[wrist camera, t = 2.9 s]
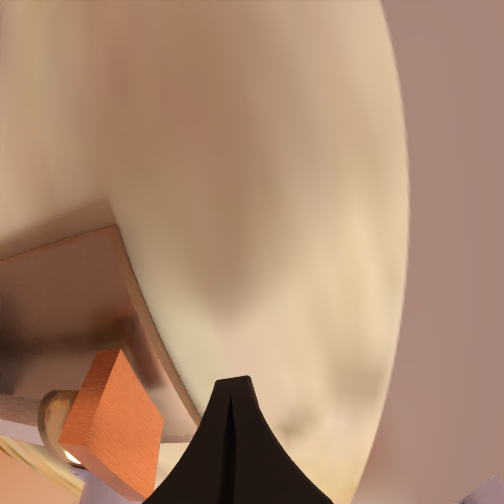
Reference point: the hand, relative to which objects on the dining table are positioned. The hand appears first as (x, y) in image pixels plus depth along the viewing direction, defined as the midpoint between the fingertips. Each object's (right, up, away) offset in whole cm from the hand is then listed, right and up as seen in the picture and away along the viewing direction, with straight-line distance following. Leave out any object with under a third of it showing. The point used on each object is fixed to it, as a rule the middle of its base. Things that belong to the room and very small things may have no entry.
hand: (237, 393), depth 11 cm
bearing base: (-17, -2, +3) cm, 18 cm away
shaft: (-14, -2, +1) cm, 14 cm away
